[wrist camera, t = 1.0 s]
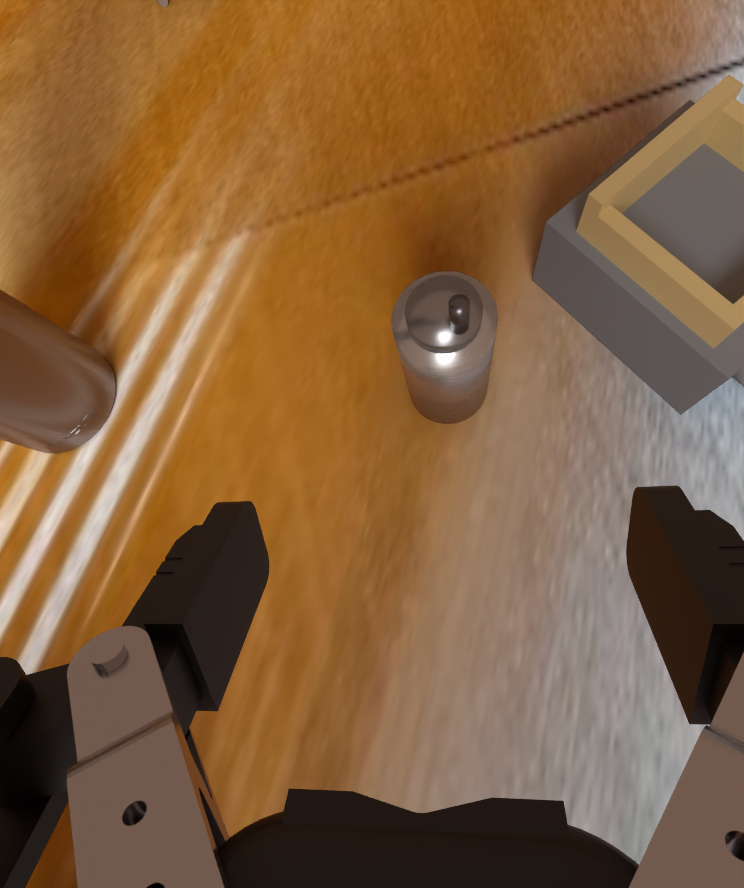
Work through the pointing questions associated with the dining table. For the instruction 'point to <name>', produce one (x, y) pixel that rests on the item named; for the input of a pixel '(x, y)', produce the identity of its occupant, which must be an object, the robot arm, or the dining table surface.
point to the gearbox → (662, 252)
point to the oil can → (446, 344)
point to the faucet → (163, 2)
